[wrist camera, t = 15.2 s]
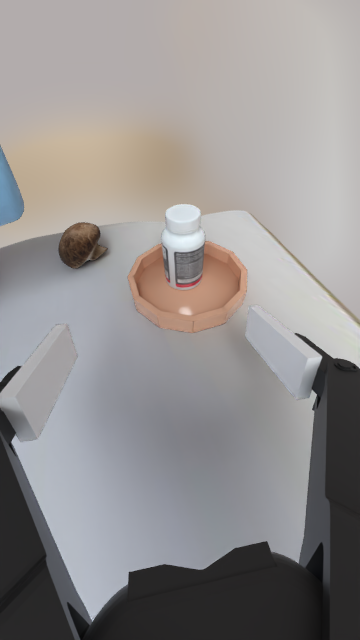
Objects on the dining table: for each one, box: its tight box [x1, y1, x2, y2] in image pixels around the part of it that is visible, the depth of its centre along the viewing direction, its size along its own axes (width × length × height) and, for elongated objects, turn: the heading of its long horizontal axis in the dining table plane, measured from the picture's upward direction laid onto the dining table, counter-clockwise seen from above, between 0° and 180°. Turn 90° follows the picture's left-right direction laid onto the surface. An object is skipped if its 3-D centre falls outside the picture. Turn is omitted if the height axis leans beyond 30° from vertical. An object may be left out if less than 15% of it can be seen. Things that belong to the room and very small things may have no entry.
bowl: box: [128, 241, 247, 333], centre depth 30 cm, size 16×16×2 cm
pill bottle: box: [161, 204, 205, 290], centre depth 27 cm, size 5×5×10 cm
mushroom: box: [59, 223, 108, 268], centre depth 34 cm, size 8×8×6 cm
